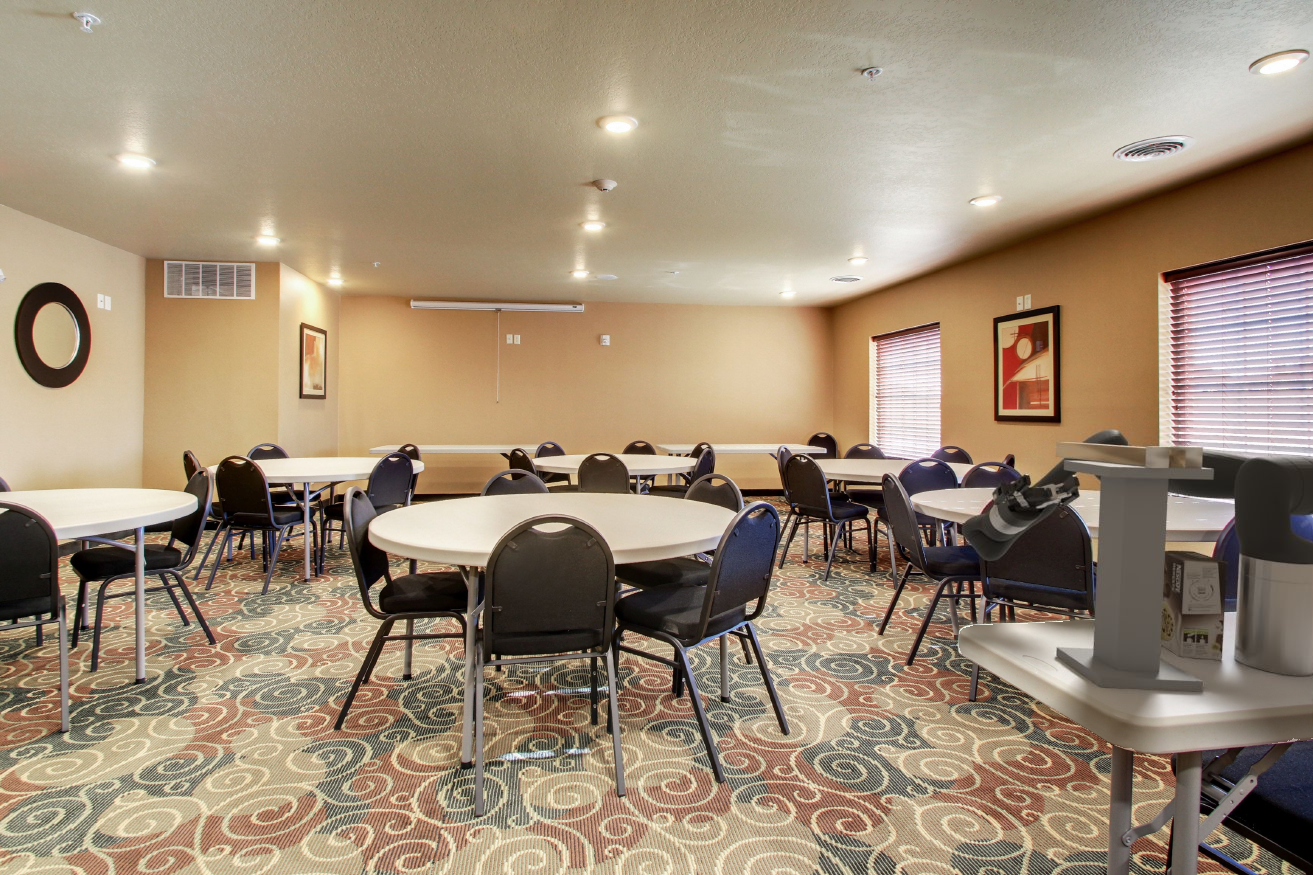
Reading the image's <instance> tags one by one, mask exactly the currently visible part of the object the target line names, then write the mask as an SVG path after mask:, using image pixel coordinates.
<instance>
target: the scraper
mask: <svg viewBox="0 0 1313 875" xmlns="http://www.w3.org/2000/svg"><path fill="white" fill-rule="evenodd" d="M1203 449H1204V447H1203V446H1185V447H1170V446H1149V445H1148V446H1134V445H1133V446H1132V445H1131V446H1119V445H1104V444H1089V443H1083V442H1075V441H1074V442H1073V441H1072V442H1071V441H1061V442H1060V441H1058V442H1057V441H1056V443H1055V458H1062V459H1064V458H1072V459H1082V460H1092V461H1102V462H1112V463H1122V464H1132V465H1142V466H1145V467H1146V468H1202V455H1203Z"/></svg>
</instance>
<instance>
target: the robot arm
mask: <svg viewBox="0 0 1313 875" xmlns="http://www.w3.org/2000/svg"><path fill="white" fill-rule="evenodd" d="M1082 443H1089V444H1104V445H1119V446H1132V445H1131V443H1130V442H1129V441H1128V440H1127V438H1126V437H1125V436H1124V435H1123V434H1122V432H1121V431H1119V430H1116V429H1106V430H1102V431H1099V432H1097V433H1094V434H1093V435H1091V436H1090V437H1088V438H1087V439H1085V440H1083V442H1082ZM1169 447H1186V446H1185V445H1184V446H1183V445H1172V446H1169ZM1064 461H1092V460H1082V459H1072V458H1062V459H1061V461H1059V462H1058V463H1057V464H1056V465H1055V466H1054V467H1053V468H1052V469H1051V470H1049V472H1048V473H1046V474H1045V475H1044V476H1043V477H1042V478H1041V479H1039V480H1038V481H1037V482H1036V483H1035V484H1033V485H1032V481H1031V477H1030V474H1029V473H1028V474H1027V473H1026V474H1025V473H1024V474H1023V475H1022V476H1020V477H1018V478H1017V479H1016V480H1013V481H1011V482H1010V483H1008V482H1005V481H1004V482H1000V483H999V485H998V486H997V487H996V488H995V489H994V491H993V492H992V493H991V494H992V495H991V496H992V500H993V506H992V507H991V509H990V510H988V511H987V512H986V513H981V514H980V513H979V514H977V515H973V516H971V517H970V518H968V519H967V520H965V521H964V522H963V524H962V526H961V533H962V535H963V537H964V539H966V541H967V542H968V543H969V544H970V546H972V548H973V549H974V551H976V553H977V554H978V555H979V556H980V557H981V558H982V559H983V560H985V561H986V562H987V561H989V562H991V561H997V560H999V559H1000V558H1002V557H1003V556H1004V555H1005V554H1006V553H1007V551H1008V550H1009V549H1010V548H1011V546H1012V545H1013V544H1014V542H1016V541H1017V540H1018V539H1019V537H1021V536H1022V535H1023V534H1024V533H1025V532H1027V531H1028V530H1029V529H1030V528H1032V527H1033V526H1035V525H1036V524H1038V523H1039V522H1041V521H1042V520H1044V519H1046V518H1047V517H1048V516H1050V515H1051V514H1052V513H1053V512H1054V511H1055V510H1056V508H1057V507H1058V506H1059V507H1060V508H1064V507H1067V506H1068V505H1069V504H1071V503H1073V502H1074V501H1076V500H1077V499H1079V498H1080V497H1081V495H1080V491H1079V487H1080V485H1081V483H1080V481H1079V477H1078V476H1077V475H1076V474H1077V473H1078V472H1074V471H1068V470H1064ZM1202 468H1210V469H1214V478H1213V480H1210V479H1168V493H1171V494H1175V495H1181V496H1186V497H1192V498H1203V499H1218V500H1221V499H1222V500H1223V499H1224V500H1234V530H1235V535H1236V537H1237V541H1238V544H1239V554H1238V555H1239V557H1238V558H1239V560H1238V580H1237V598H1236V611H1235V612H1236V615H1235V616H1236V617H1235V634H1234V635H1235V636H1234V651H1233V652H1234V653H1233V655H1234V656H1233V658H1234V659H1235V660H1236V661H1238V662H1240V663H1241V664H1244V665H1245V666H1249V667H1252V668H1255V669H1259V670H1263V671H1266V672H1271V673H1276V674H1281V675H1288V676H1301V677H1303V676H1311V675H1313V541H1311V540H1309V539H1306V538H1304V537H1302V536H1299V535H1298V534H1297V533H1296V532H1295V531H1294V530H1293V528H1292V519H1291V516H1295V517H1296V516H1300V517H1301V516H1304V517H1305V516H1313V458H1312V457H1311V458H1310V457H1306V456H1255V457H1254V456H1253V457H1252V456H1247V455H1242V454H1237V453H1232V452H1227V451H1222V450H1215V449H1207V448H1203V455H1202ZM1094 477H1095V478H1096V479H1097V480H1098V481H1099V482H1101V476H1098V475H1094ZM1031 485H1032V486H1031Z"/></svg>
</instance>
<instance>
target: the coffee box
mask: <svg viewBox="0 0 1313 875" xmlns="http://www.w3.org/2000/svg"><path fill="white" fill-rule="evenodd" d="M1227 568H1228V561H1225V560H1222V559H1218V558H1216V557H1211V556H1210V555H1207V554H1203V553H1200V552H1196V551H1190V550H1165V563H1164V584H1163V606H1162V627H1161V646H1162V645H1163V646H1162V647H1164V648H1166V649H1167V650H1169V651H1170V652H1172V653H1173V654H1175V655H1178V656H1179V657H1182V658H1192V659H1193V658H1194V659H1205V660H1215V661H1222V659H1223V650H1224V649H1223V647H1224V646H1223V644H1224V632H1225V629H1224V628H1225V613H1226V612H1225V609H1226V607H1225V606H1226V591H1227V590H1226V589H1227V572H1228V571H1227V570H1228V569H1227Z"/></svg>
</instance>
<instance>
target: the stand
mask: <svg viewBox="0 0 1313 875" xmlns="http://www.w3.org/2000/svg"><path fill="white" fill-rule="evenodd" d="M1064 470H1068V471H1074V472H1077V473H1082V474H1086V475H1093V476H1095V475H1098V476H1101V481H1100V487H1099V488H1100V489H1099V511H1098V512H1099V513H1098V514H1099V517H1098V534H1097V535H1098V537H1097V554H1096V556H1097V558H1096V576H1095V577H1096V579H1095V580H1096V583H1095V584H1096V585H1095V602H1094V603H1095V606H1094V607H1095V609H1094V623H1093V624H1094V626H1093V627H1094V628H1093V648H1090V647H1089V648H1087V647H1086V648H1085V647H1064V646H1063V647H1059V646H1056V650H1055V651H1056V654H1055V655H1056V656H1055V657H1056V658H1058V659H1059V660H1061V661H1063V662H1064V663H1065V664H1066V665H1068V666H1070V667H1071V668H1072V669H1074V670H1075V671H1077V672H1078V673H1079V674H1081V675H1082V676H1084V677H1085V678H1087V679H1088V680H1090V681H1091V682H1092V683H1094V684H1095V685H1097V686H1098V687H1100V688H1111V689H1113V688H1114V689H1115V688H1116V689H1133V690H1134V689H1136V690H1138V689H1139V690H1153V691H1154V690H1156V691H1159V690H1160V691H1181V692H1202V693H1203V692H1204V680H1202V679H1200V678H1198V677H1197V676H1194V675H1192V674H1190V673H1189V672H1187V671H1185V670H1183V669H1181V668H1180V667H1178V666H1176V665H1174V664H1172V663H1170V662H1169V661H1167V660H1165V659H1163V658H1161V649H1162V648H1161V646H1162V645H1161V627H1162V606H1163V584H1164V563H1165V551H1166V539H1167V538H1166V537H1167V521H1168V520H1167V517H1168V498H1169V497H1168V495H1169V492H1168V479H1210V480H1213V478H1214V469H1210V468H1146V467H1145V466H1142V465H1132V464H1122V463H1112V462H1102V461H1064Z"/></svg>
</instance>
